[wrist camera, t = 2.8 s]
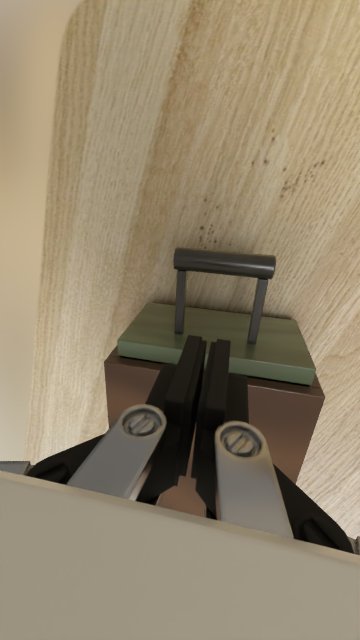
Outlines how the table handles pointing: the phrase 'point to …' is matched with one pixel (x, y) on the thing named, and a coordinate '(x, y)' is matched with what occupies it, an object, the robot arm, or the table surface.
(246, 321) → the drawer
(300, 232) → the table surface
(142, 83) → the table surface
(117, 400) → the cabinet
